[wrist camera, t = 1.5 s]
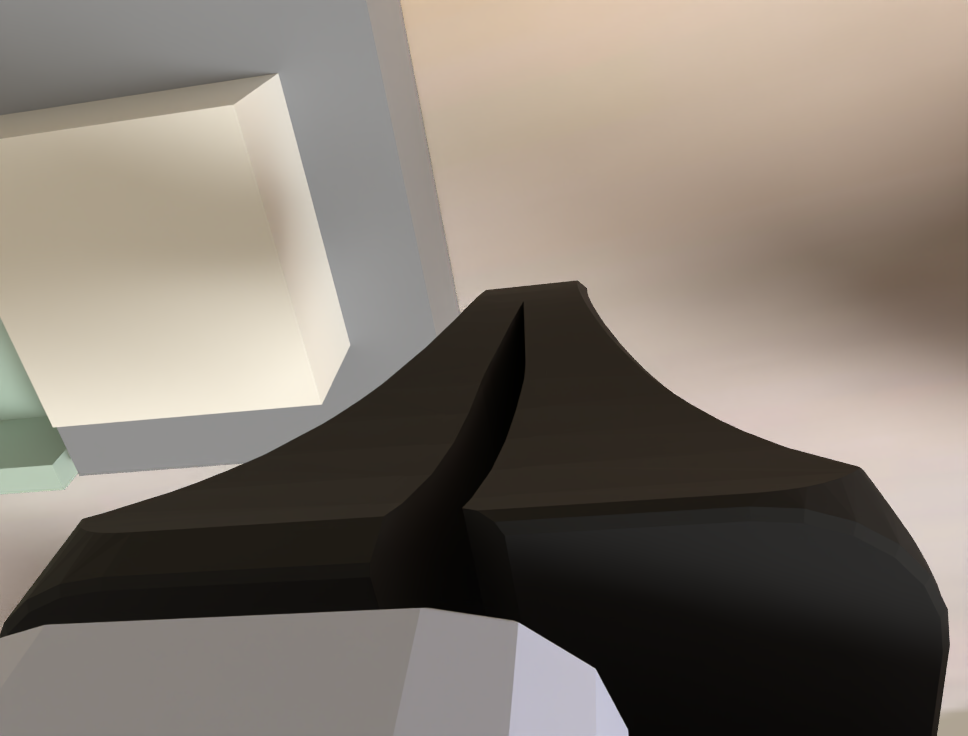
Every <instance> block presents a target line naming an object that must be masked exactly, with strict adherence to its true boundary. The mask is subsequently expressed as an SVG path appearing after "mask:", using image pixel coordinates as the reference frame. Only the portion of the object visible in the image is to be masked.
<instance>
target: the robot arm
mask: <svg viewBox="0 0 968 736" xmlns="http://www.w3.org/2000/svg"><path fill="white" fill-rule="evenodd" d="M949 647H950V641H949V624H948V609H947V607H946V605H945V603H944V601H943V599H942V597H941V594H940V591H939V588H938V585H937V583H936V581H935V579H934V577H933V574H932V572H931V570H930V568H929V566H928V564H927V562H926V560H925V559H924V557H923V555H922V553H921V552H920V550H919V548H918V546H917V545H916V543H915V541H914V540H913V538H912V537H911V535H910V534H909V532H908V531H907V529H906V528H905V527H904V525H903V524H902V522H901V521H900V519H899V518H898V517H897V515H896V514H895V512H894V511H893V510H892V508H891V507H890V505H889V504H888V503H887V501H886V500H885V499H884V497H883V496H882V494H881V493H880V492H879V490H878V489H877V488H876V486H875V485H874V484H873V482H872V481H871V480H870V478H869V477H868V476H867V474H866V473H865V472H864V471H863V470H862V469H861V468H860V467H858V466H854V465H850V464H846V463H843V462H839V461H835V460H831V459H828V458H824V457H820V456H816V455H813V454H809V453H805V452H801V451H798V450H794V449H790V448H787V447H784V446H781V445H778V444H775V443H773V442H770V441H768V440H765V439H762V438H760V437H757V436H755V435H752V434H749V433H747V432H744V431H742V430H740V429H738V428H735V427H733V426H731V425H729V424H727V423H725V422H722V421H720V420H718V419H717V418H715V417H713V416H711V415H709V414H707V413H706V412H704V411H702V410H700V409H698V408H697V407H695V406H693V405H691V404H689V403H688V402H686V401H685V400H683V399H681V398H680V397H678V396H677V395H675V394H674V393H672V392H671V391H670V390H668V389H667V388H666V387H664V386H663V385H662V384H661V383H660V382H658V381H657V380H656V379H655V378H654V377H653V376H652V375H650V374H649V373H648V372H647V371H646V370H645V369H644V368H643V367H642V366H641V365H640V364H639V363H638V362H637V361H636V360H635V359H634V358H633V357H632V356H631V355H630V354H629V353H628V352H627V351H626V350H625V348H624V347H623V346H622V345H621V344H620V343H619V342H618V340H617V339H616V338H615V336H614V335H613V334H612V333H611V331H610V330H609V329H608V328H607V326H606V325H605V324H604V322H603V321H602V319H601V318H600V317H599V315H598V313H597V312H596V310H595V308H594V307H593V305H592V303H591V301H590V299H589V297H588V294H587V288H586V287H585V286H584V285H582V284H581V283H580V282H579V281H569V282H560V283H550V284H541V285H531V286H521V287H512V288H502V289H493V290H486V291H484V292H483V293H482V294H480V295H479V296H478V297H477V298H476V299H475V300H474V301H473V302H472V303H471V304H470V305H469V306H468V307H467V308H466V309H465V310H464V311H463V312H462V313H461V314H460V315H459V316H458V317H457V318H456V319H455V320H454V321H453V322H452V323H451V324H450V325H449V326H448V327H446V328H445V329H444V330H443V331H442V332H441V333H440V334H439V335H438V336H437V337H436V338H435V339H434V340H433V341H432V342H431V343H430V344H429V345H428V346H427V347H425V348H424V349H423V350H422V351H421V352H420V353H418V354H417V355H416V356H415V357H414V358H413V359H411V360H410V361H409V362H408V363H407V364H405V365H404V366H403V367H402V368H401V369H399V370H398V371H397V372H396V373H395V374H393V375H392V376H391V377H390V378H389V379H388V380H386V381H385V382H384V383H383V384H381V385H380V386H379V387H377V388H376V389H375V390H373V391H372V392H370V393H369V394H368V395H366V396H365V397H363V398H362V399H361V400H359V401H358V402H356V403H355V404H353V405H351V406H350V407H348V408H347V409H345V410H344V411H342V412H341V413H339V414H338V415H336V416H335V417H333V418H331V419H330V420H328V421H326V422H325V423H323V424H321V425H319V426H317V427H316V428H314V429H312V430H310V431H308V432H306V433H304V434H302V435H300V436H299V437H297V438H295V439H293V440H291V441H289V442H287V443H285V444H283V445H282V446H280V447H278V448H276V449H274V450H272V451H270V452H268V453H266V454H264V455H262V456H260V457H258V458H255V459H253V460H251V461H249V462H246V463H244V464H242V465H239V466H237V467H235V468H233V469H230V470H228V471H225V472H223V473H220V474H218V475H215V476H213V477H210V478H208V479H205V480H203V481H200V482H198V483H195V484H192V485H190V486H187V487H184V488H181V489H178V490H176V491H173V492H170V493H167V494H163V495H160V496H157V497H154V498H151V499H147V500H144V501H141V502H138V503H135V504H131V505H128V506H125V507H122V508H119V509H116V510H112V511H109V512H106V513H103V514H99V515H95V516H92V517H88V518H84V519H82V520H81V521H80V523H79V524H78V525H77V527H76V528H75V529H74V531H73V532H72V533H71V535H70V536H69V537H68V539H67V540H66V541H65V543H64V544H63V545H62V547H61V548H60V549H59V551H58V552H57V553H56V555H55V556H54V557H53V559H52V560H51V561H50V563H49V564H48V565H47V567H46V568H45V569H44V571H43V572H42V573H41V575H40V576H39V577H38V579H37V580H36V581H35V583H34V584H33V585H32V587H31V588H30V589H29V591H28V592H27V593H26V595H25V596H24V597H23V599H22V600H21V601H20V603H19V604H18V605H17V607H16V608H15V609H14V611H13V612H12V613H11V615H10V616H9V617H8V619H7V620H6V621H5V623H4V625H3V628H2V631H1V634H0V736H937V731H938V724H939V717H940V710H941V703H942V696H943V689H944V682H945V675H946V668H947V661H948V654H949Z"/></svg>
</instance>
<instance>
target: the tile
mask: <svg viewBox="0 0 968 736" xmlns="http://www.w3.org/2000/svg"><path fill="white" fill-rule="evenodd" d="M0 318H1V320H2V322H3V324H4V326H5V328H6V330H7V332H8V335H9V337H10V339H11V341H12V343H13V345H14V347H15V349H16V351H17V353H18V355H19V358H20V360H21V362H22V364H23V366H24V368H25V370H26V372H27V374H28V376H29V378H30V381H31V383H32V385H33V387H34V389H35V391H36V393H37V395H38V397H39V399H40V402H41V404H42V406H43V408H44V410H45V412H46V414H47V416H48V418H49V420H50V422H51V425H52V427H53V428H54V427H66V426H77V425H89V424H101V423H112V422H124V421H136V420H147V419H159V418H170V417H182V416H194V415H205V414H217V413H229V412H240V411H252V410H264V409H275V408H287V407H299V406H310V405H322V403H323V401H324V399H325V397H326V395H327V393H328V391H329V389H330V387H331V384H332V382H333V380H334V378H335V376H336V374H337V372H338V370H339V368H340V366H341V364H342V361H343V359H344V357H345V355H346V353H347V351H348V349H349V347H350V342H349V338H348V335H347V331H346V327H345V323H344V320H343V316H342V312H341V308H340V304H339V301H338V297H337V293H336V289H335V286H334V282H333V278H332V274H331V270H330V267H329V263H328V259H327V255H326V252H325V248H324V244H323V240H322V236H321V233H320V229H319V225H318V221H317V218H316V214H315V210H314V206H313V203H312V199H311V195H310V191H309V187H308V184H307V180H306V176H305V172H304V169H303V165H302V161H301V157H300V153H299V150H298V146H297V142H296V138H295V135H294V131H293V127H292V123H291V119H290V116H289V112H288V108H287V104H286V101H285V97H284V93H283V89H282V85H281V82H280V78H279V74H278V73H277V74H270V75H263V76H257V77H250V78H244V79H237V80H230V81H224V82H217V83H211V84H204V85H197V86H191V87H184V88H178V89H171V90H164V91H158V92H151V93H145V94H138V95H132V96H125V97H118V98H112V99H105V100H99V101H92V102H85V103H79V104H72V105H66V106H59V107H52V108H46V109H39V110H33V111H26V112H19V113H13V114H6V115H0Z"/></svg>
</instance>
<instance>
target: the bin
mask: <svg viewBox="0 0 968 736" xmlns="http://www.w3.org/2000/svg"><path fill="white" fill-rule="evenodd" d="M77 474H78V472H77V469H76V467H75V465H74V463H73V461H72V459H71V457H70V455H69V453H68V451H67V448H66V446H65V444H64V442H63V440H62V438H61V436H60V434H59V432H58V429H57V427H54V428H53V427H52V425H51V422H50V420H49V418H48V416H47V414H46V412H45V410H44V408H43V406H42V404H41V402H40V399H39V397H38V395H37V393H36V391H35V389H34V387H33V385H32V383H31V381H30V378H29V376H28V374H27V372H26V370H25V368H24V366H23V364H22V362H21V360H20V358H19V355H18V353H17V351H16V349H15V347H14V345H13V343H12V341H11V339H10V337H9V335H8V332H7V330H6V328H5V326H4V324H3V322H2V320H1V318H0V494H12V493H26V492H39V491H53V490H65V488H66V487H67V486H68V485H69V484H70V482H71V481H72V480H73V479H74V477H75V476H76V475H77Z"/></svg>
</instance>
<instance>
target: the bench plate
mask: <svg viewBox="0 0 968 736" xmlns="http://www.w3.org/2000/svg"><path fill="white" fill-rule="evenodd" d="M277 73H278V74H279V78H280V82H281V85H282V89H283V93H284V97H285V101H286V104H287V108H288V112H289V116H290V119H291V123H292V127H293V131H294V135H295V138H296V142H297V146H298V150H299V153H300V157H301V161H302V165H303V169H304V172H305V176H306V180H307V184H308V187H309V191H310V195H311V199H312V203H313V206H314V210H315V214H316V218H317V221H318V225H319V229H320V233H321V236H322V240H323V244H324V248H325V252H326V255H327V259H328V263H329V267H330V270H331V274H332V278H333V282H334V286H335V289H336V293H337V297H338V301H339V304H340V308H341V312H342V316H343V320H344V323H345V327H346V331H347V335H348V338H349V342H350V347H349V349H348V351H347V353H346V355H345V357H344V359H343V361H342V364H341V366H340V368H339V370H338V372H337V374H336V376H335V378H334V380H333V382H332V384H331V387H330V389H329V391H328V393H327V395H326V397H325V399H324V401H323V403H322V405H310V406H299V407H287V408H275V409H264V410H252V411H240V412H229V413H217V414H205V415H194V416H182V417H170V418H159V419H147V420H136V421H124V422H112V423H101V424H89V425H77V426H66V427H57V429H58V432H59V434H60V436H61V438H62V440H63V442H64V444H65V446H66V448H67V451H68V453H69V455H70V457H71V459H72V461H73V463H74V465H75V467H76V469H77V472H78V474H79V476H84V475H97V474H110V473H123V472H137V471H150V470H163V469H176V468H190V467H203V466H216V465H229V464H243V463H246V462H249V461H251V460H253V459H255V458H258V457H260V456H262V455H264V454H266V453H268V452H270V451H272V450H274V449H276V448H278V447H280V446H282V445H283V444H285V443H287V442H289V441H291V440H293V439H295V438H297V437H299V436H300V435H302V434H304V433H306V432H308V431H310V430H312V429H314V428H316V427H317V426H319V425H321V424H323V423H325V422H326V421H328V420H330V419H331V418H333V417H335V416H336V415H338V414H339V413H341V412H342V411H344V410H345V409H347V408H348V407H350V406H351V405H353V404H355V403H356V402H358V401H359V400H361V399H362V398H363V397H365V396H366V395H368V394H369V393H370V392H372V391H373V390H375V389H376V388H377V387H379V386H380V385H381V384H383V383H384V382H385V381H386V380H388V379H389V378H390V377H391V376H392V375H393V374H395V373H396V372H397V371H398V370H399V369H401V368H402V367H403V366H404V365H405V364H407V363H408V362H409V361H410V360H411V359H413V358H414V357H415V356H416V355H417V354H418V353H420V352H421V351H422V350H423V349H424V348H425V347H427V346H428V345H429V344H430V343H431V342H432V341H433V340H434V339H435V338H436V337H437V336H438V335H439V334H440V333H441V332H442V331H443V330H444V329H445V328H446V327H448V326H449V325H450V324H451V323H452V322H453V321H454V320H455V319H456V318H457V317H458V316H459V315H460V311H459V306H458V301H457V296H456V290H455V285H454V280H453V275H452V270H451V264H450V259H449V254H448V249H447V243H446V238H445V233H444V228H443V223H442V217H441V212H440V207H439V202H438V197H437V191H436V186H435V181H434V176H433V170H432V165H431V160H430V155H429V150H428V144H427V139H426V134H425V129H424V123H423V118H422V113H421V108H420V103H419V97H418V92H417V87H416V82H415V77H414V71H413V66H412V61H411V56H410V50H409V45H408V40H407V35H406V30H405V24H404V19H403V14H402V9H401V4H400V0H0V115H6V114H13V113H19V112H26V111H33V110H39V109H46V108H52V107H59V106H66V105H72V104H79V103H85V102H92V101H99V100H105V99H112V98H118V97H125V96H132V95H138V94H145V93H151V92H158V91H164V90H171V89H178V88H184V87H191V86H197V85H204V84H211V83H217V82H224V81H230V80H237V79H244V78H250V77H257V76H263V75H270V74H277Z"/></svg>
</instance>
